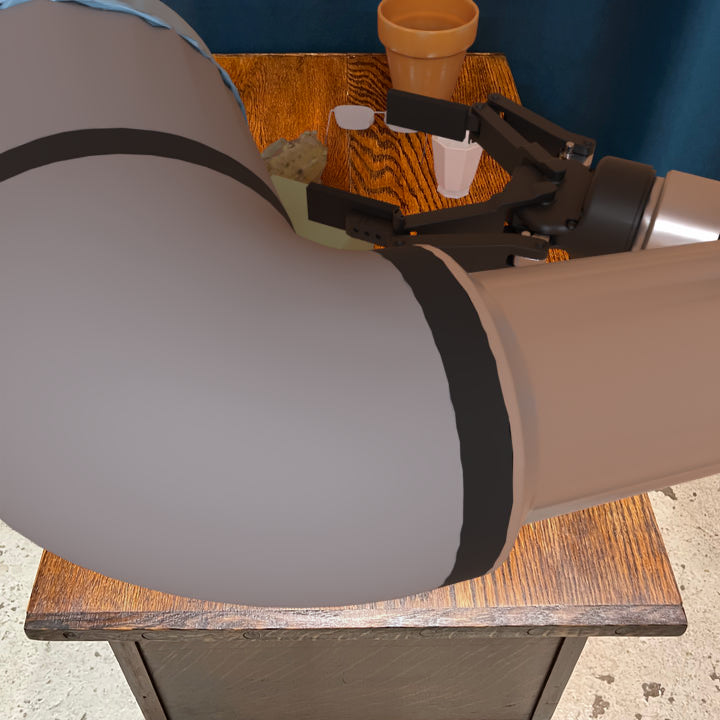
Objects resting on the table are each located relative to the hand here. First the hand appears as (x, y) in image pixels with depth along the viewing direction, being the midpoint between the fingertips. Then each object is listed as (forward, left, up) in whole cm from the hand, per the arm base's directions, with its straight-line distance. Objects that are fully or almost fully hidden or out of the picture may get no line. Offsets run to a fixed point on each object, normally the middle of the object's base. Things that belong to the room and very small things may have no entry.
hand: (351, 149), depth 55 cm
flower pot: (+1, +59, -28) cm, 65 cm away
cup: (+8, +37, -28) cm, 47 cm away
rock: (-14, +30, -28) cm, 43 cm away
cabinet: (-9, +12, -28) cm, 31 cm away
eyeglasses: (-4, +44, -28) cm, 52 cm away
